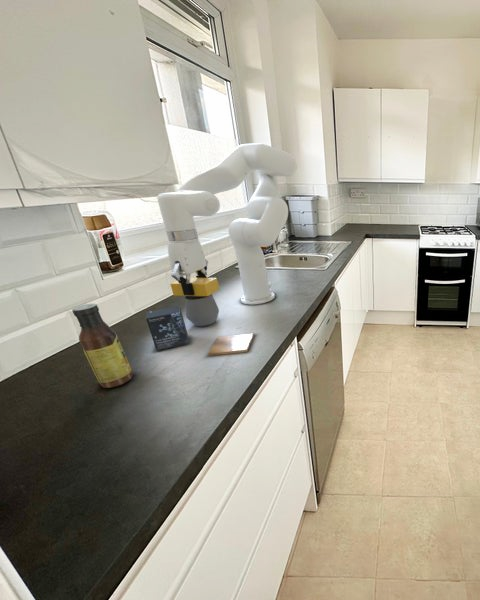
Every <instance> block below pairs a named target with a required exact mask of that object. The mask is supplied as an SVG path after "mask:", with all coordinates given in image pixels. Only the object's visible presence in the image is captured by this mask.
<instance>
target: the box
mask: <svg viewBox="0 0 480 600" xmlns="http://www.w3.org/2000/svg"><path fill="white" fill-rule="evenodd" d="M145 319H146V323H147V326H148V329H149V332H150V335H151V338H152V341H153V345H154V348H155V351H157V352H160V351H162V350H167V349H171V348H176V347H180V346H185V345H189V344H190V343H189V342H190V341H189V334H188V333H189V332H188V331H187V327H186V322H185V320H184V316H183V312H182V308H181V306H180V305H176V306H171V307H167V308H161V309H156V310H149V311H147V312H146V318H145Z"/></svg>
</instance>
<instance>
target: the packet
mask: <svg viewBox="0 0 480 600" xmlns="http://www.w3.org/2000/svg"><path fill="white" fill-rule="evenodd" d="M183 277H184V278H185V279H186V276H183ZM190 283H192V285H193V289H194V293H195V294H194V295H184V294H183V290H182V286H181V284H179V282H178V281H177V280H175V281H173V282H171V283H170V287H171V291H172V295H173V296H174V297H186V296H209V295H211V294H212V295H213V294H214V293H215V292H217V291H219V290H220V286H219V282H218V277H207V278H196V277H190Z"/></svg>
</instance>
